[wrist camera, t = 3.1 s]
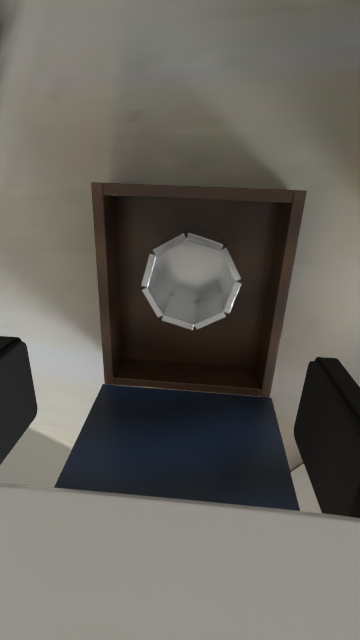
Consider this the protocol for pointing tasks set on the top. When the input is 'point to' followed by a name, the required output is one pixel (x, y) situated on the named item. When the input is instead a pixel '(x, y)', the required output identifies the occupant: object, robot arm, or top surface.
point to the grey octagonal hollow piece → (191, 278)
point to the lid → (182, 448)
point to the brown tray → (194, 345)
